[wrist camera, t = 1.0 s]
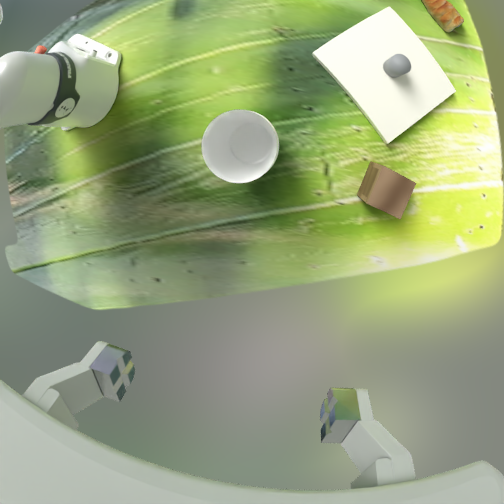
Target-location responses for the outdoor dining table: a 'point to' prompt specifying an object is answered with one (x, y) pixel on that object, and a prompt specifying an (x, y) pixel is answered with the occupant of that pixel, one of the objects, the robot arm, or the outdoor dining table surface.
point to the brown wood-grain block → (386, 189)
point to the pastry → (444, 14)
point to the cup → (240, 146)
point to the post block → (386, 72)
